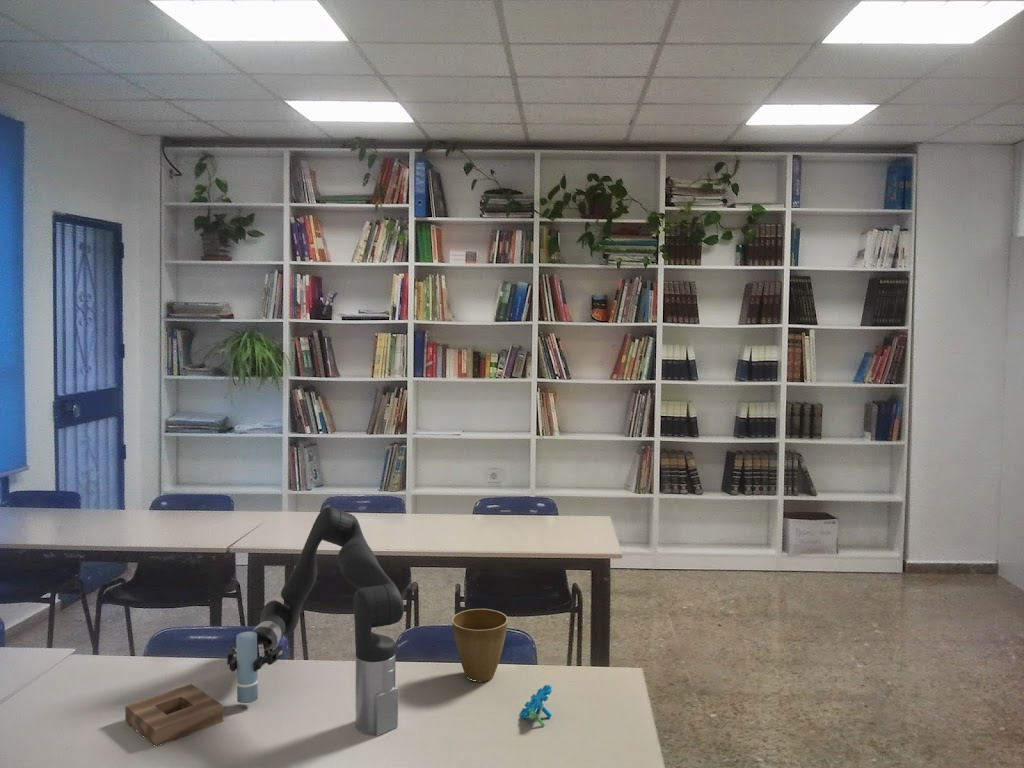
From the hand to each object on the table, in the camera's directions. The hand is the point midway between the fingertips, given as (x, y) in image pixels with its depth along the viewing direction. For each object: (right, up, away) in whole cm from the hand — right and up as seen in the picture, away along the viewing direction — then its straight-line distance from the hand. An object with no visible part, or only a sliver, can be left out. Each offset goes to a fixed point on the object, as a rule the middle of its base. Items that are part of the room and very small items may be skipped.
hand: (243, 667), depth 196 cm
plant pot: (+56, -10, +22) cm, 61 cm away
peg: (0, -9, +3) cm, 9 cm away
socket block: (-15, -11, -5) cm, 19 cm away
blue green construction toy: (+71, -12, 0) cm, 72 cm away
